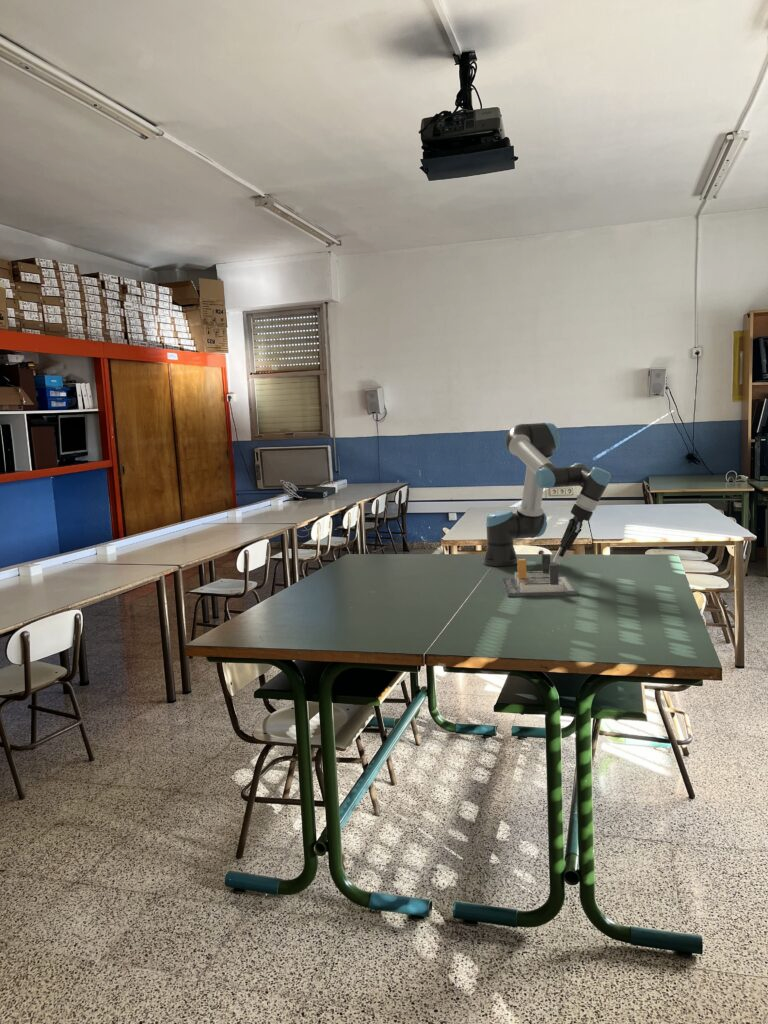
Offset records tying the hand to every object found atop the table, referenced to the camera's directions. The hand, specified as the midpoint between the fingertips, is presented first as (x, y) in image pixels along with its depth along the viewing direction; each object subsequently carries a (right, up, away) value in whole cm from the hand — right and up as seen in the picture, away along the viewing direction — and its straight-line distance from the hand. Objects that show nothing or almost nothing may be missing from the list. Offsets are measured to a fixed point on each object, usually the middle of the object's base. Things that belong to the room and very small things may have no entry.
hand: (556, 562), depth 285 cm
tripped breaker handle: (-13, -6, 0) cm, 14 cm away
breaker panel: (-7, -10, 0) cm, 12 cm away
